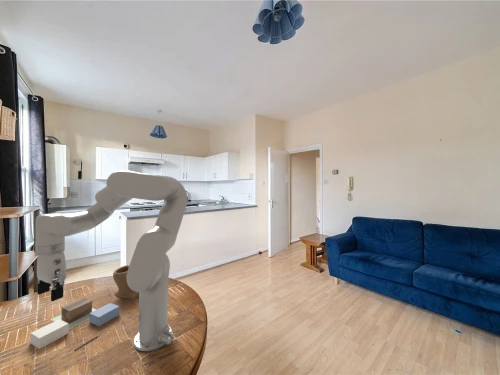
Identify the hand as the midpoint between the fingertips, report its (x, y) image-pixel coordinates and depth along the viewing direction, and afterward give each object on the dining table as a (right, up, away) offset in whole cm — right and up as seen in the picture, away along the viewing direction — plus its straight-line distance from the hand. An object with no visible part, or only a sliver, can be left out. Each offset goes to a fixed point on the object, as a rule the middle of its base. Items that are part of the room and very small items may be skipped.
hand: (50, 295), depth 73 cm
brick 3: (+12, -17, +11) cm, 23 cm away
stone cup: (+11, -16, +30) cm, 36 cm away
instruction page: (+10, -16, +1) cm, 19 cm away
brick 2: (-1, -15, +12) cm, 20 cm away
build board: (-1, -16, +12) cm, 20 cm away
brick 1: (0, -17, 0) cm, 17 cm away
